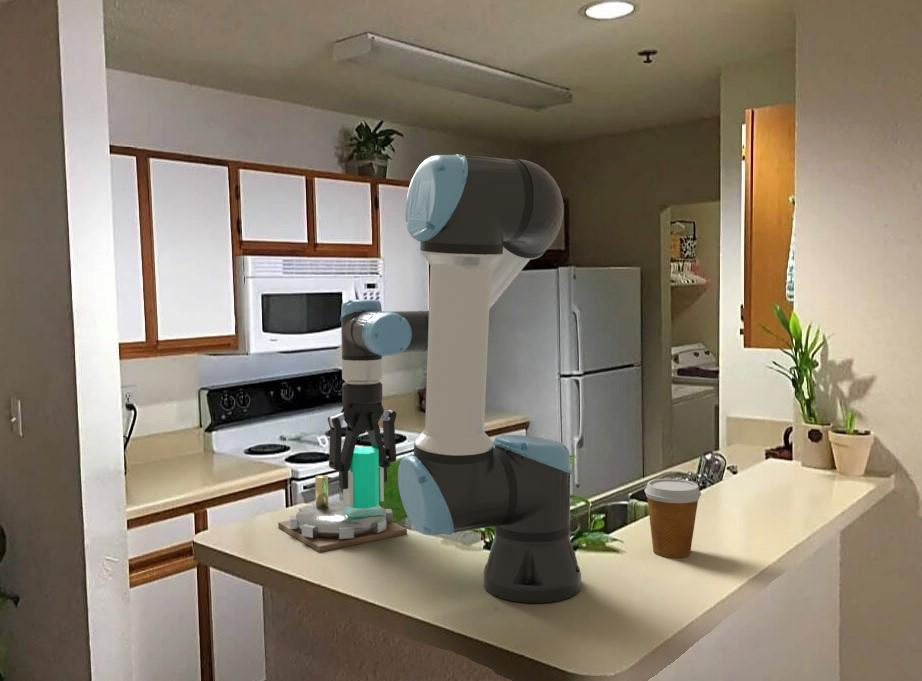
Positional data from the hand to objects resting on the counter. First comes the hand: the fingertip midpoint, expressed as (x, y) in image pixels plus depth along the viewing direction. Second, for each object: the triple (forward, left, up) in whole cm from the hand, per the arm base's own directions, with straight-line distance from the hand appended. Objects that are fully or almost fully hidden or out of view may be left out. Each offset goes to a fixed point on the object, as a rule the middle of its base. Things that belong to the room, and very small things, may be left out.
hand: (363, 502), depth 158 cm
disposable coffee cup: (-43, -37, -6) cm, 57 cm away
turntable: (+2, +4, -4) cm, 6 cm away
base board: (+2, +4, -5) cm, 7 cm away
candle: (0, 0, -1) cm, 1 cm away
